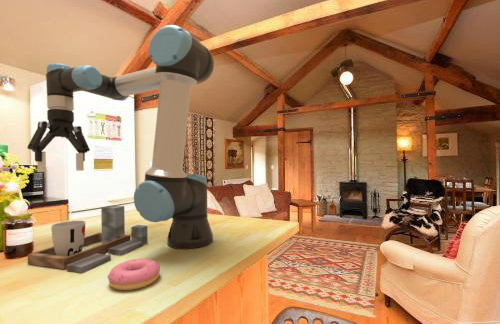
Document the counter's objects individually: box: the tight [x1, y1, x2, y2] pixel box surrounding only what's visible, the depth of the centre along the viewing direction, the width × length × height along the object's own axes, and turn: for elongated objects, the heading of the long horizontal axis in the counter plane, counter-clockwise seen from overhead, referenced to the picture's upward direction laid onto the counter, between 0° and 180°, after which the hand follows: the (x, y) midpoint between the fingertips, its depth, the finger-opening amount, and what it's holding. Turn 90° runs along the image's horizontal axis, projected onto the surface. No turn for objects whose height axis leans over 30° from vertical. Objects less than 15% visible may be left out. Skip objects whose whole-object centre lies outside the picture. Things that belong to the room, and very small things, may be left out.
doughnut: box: [107, 258, 161, 291], centre depth 61 cm, size 11×11×4 cm
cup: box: [51, 220, 86, 257], centre depth 76 cm, size 8×8×10 cm
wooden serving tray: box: [27, 205, 131, 270], centre depth 81 cm, size 13×25×12 cm, turn 163°
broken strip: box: [66, 224, 149, 274], centre depth 78 cm, size 5×25×6 cm, turn 162°
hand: (62, 171), depth 92 cm, fingers open, 13 cm apart
